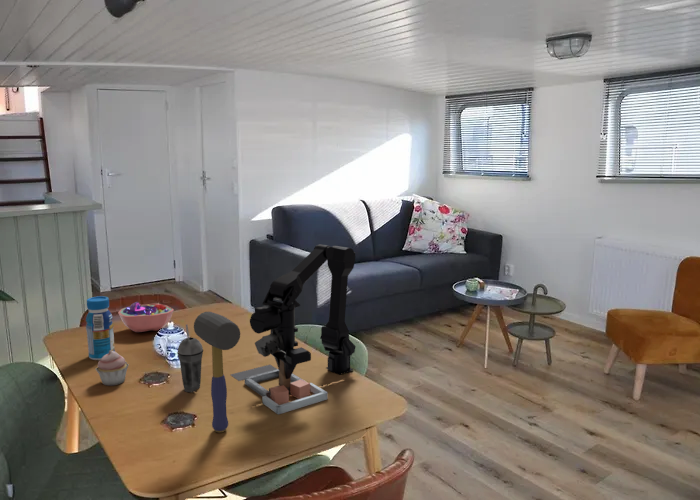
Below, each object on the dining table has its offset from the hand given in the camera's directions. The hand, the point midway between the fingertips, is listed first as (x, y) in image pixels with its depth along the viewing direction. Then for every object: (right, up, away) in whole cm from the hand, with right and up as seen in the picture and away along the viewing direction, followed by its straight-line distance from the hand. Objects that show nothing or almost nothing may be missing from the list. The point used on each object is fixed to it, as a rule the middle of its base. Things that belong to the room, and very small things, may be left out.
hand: (285, 377), depth 168 cm
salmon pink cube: (+4, -5, +1) cm, 7 cm away
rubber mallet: (-14, -9, -20) cm, 26 cm away
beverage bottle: (-65, 0, +30) cm, 71 cm away
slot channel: (-3, -4, +5) cm, 8 cm away
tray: (+3, -6, -3) cm, 7 cm away
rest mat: (-11, -2, +16) cm, 19 cm away
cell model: (-59, +5, +57) cm, 82 cm away
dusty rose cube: (-1, -6, -3) cm, 7 cm away
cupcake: (-53, -4, +9) cm, 54 cm away
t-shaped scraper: (-1, -5, +2) cm, 5 cm away
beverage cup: (-28, -5, +5) cm, 28 cm away
